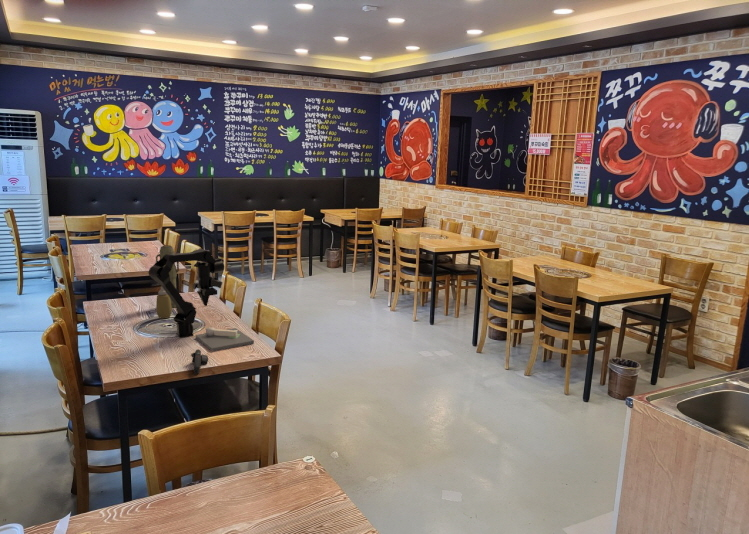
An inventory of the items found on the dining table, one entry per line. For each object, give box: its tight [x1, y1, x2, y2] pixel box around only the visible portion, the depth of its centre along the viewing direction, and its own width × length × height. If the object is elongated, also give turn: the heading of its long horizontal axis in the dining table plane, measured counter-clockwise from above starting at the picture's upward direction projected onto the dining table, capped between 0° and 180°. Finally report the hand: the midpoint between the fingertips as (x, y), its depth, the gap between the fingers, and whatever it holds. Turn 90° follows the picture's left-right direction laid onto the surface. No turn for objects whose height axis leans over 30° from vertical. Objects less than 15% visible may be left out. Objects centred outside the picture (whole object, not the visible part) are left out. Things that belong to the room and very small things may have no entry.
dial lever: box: [205, 326, 238, 337], centre depth 267 cm, size 15×4×3 cm, turn 81°
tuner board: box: [195, 327, 255, 352], centre depth 265 cm, size 20×22×2 cm
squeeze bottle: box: [155, 285, 173, 319], centre depth 298 cm, size 8×8×18 cm
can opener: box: [190, 348, 209, 376], centre depth 232 cm, size 18×7×6 cm, turn 12°
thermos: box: [155, 244, 180, 309], centre depth 315 cm, size 9×12×35 cm
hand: (205, 305), depth 280 cm, fingers closed
